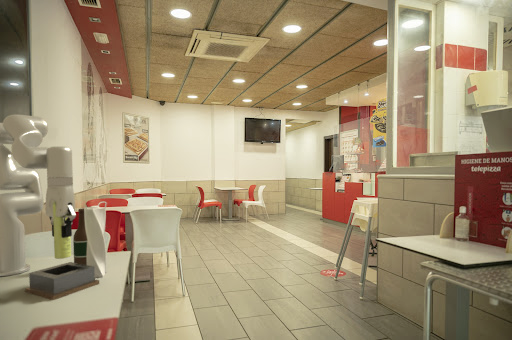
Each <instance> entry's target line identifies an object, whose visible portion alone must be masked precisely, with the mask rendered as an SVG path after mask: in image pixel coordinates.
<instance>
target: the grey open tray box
mask: <svg viewBox="0 0 512 340" xmlns="http://www.w3.org/2000/svg"><path fill="white" fill-rule="evenodd" d="M28 275H29V276H28V277H29V279H28V280H29V286H28V287H26V288H25V287H24V292H25V293H28V294H31V295H34V296H37V297H40V298H44V299H48V300H51V301H54V300H55V301H56V300H58V299H60V298H63V297H66V296H69V295H72V294H74V293H78V292H81V291H83V290H85V289H88V288H91V287H96V286H98V285H100V280H99V279H96V277H95V269H94V266H89V265H83V264H78V263H74V261H72V262H71V261H68V262H65V263H61V264H58V265H53V266H50V267H46V268H43V269H38V270H35V271H31V272H29V273H28Z"/></svg>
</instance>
